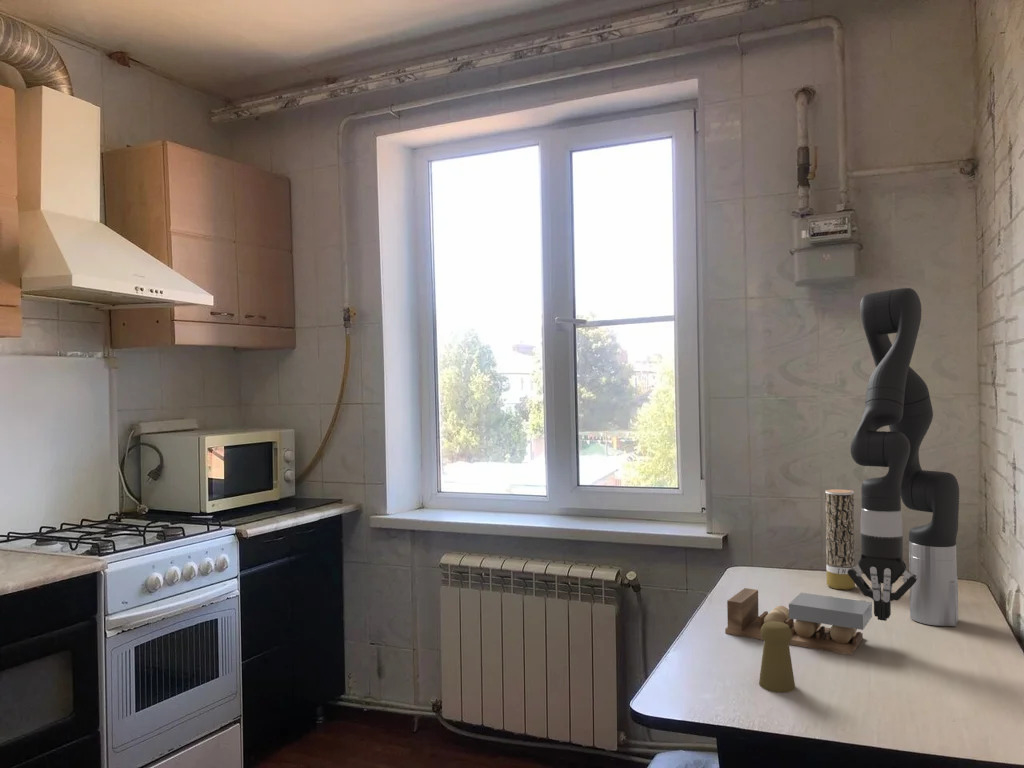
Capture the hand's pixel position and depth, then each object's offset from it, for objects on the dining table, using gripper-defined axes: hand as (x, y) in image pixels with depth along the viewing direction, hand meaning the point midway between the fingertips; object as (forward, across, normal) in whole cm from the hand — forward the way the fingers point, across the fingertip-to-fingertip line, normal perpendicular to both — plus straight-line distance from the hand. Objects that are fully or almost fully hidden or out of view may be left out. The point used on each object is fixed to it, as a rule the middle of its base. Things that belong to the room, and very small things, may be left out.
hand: (882, 619), depth 151 cm
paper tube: (+6, -16, +46) cm, 49 cm away
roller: (+5, -21, 0) cm, 21 cm away
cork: (+6, -13, -29) cm, 32 cm away
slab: (+1, -10, 0) cm, 10 cm away
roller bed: (+6, -17, 0) cm, 18 cm away
